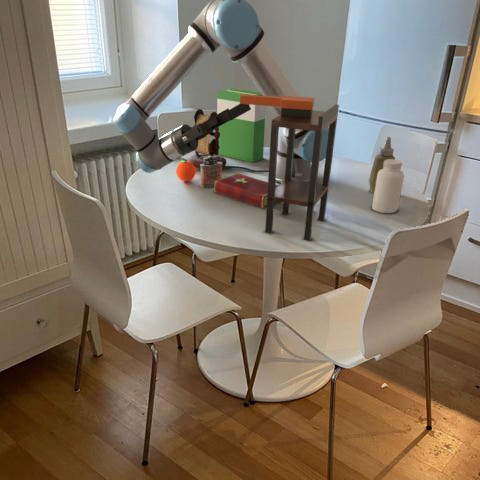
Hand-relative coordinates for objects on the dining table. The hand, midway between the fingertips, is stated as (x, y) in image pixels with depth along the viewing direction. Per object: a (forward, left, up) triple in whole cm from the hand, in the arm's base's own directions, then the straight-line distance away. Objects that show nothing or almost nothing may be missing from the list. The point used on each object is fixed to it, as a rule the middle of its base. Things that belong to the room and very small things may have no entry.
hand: (239, 109), depth 138 cm
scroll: (-44, +25, -30) cm, 59 cm away
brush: (+10, +4, 0) cm, 11 cm away
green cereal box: (-47, +45, -30) cm, 72 cm away
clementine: (-36, +8, -30) cm, 48 cm away
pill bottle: (+26, +40, -30) cm, 56 cm away
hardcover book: (-10, +15, -30) cm, 35 cm away
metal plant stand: (+17, +8, -30) cm, 35 cm away
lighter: (-26, +12, -30) cm, 42 cm away
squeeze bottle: (+15, +53, -30) cm, 63 cm away
